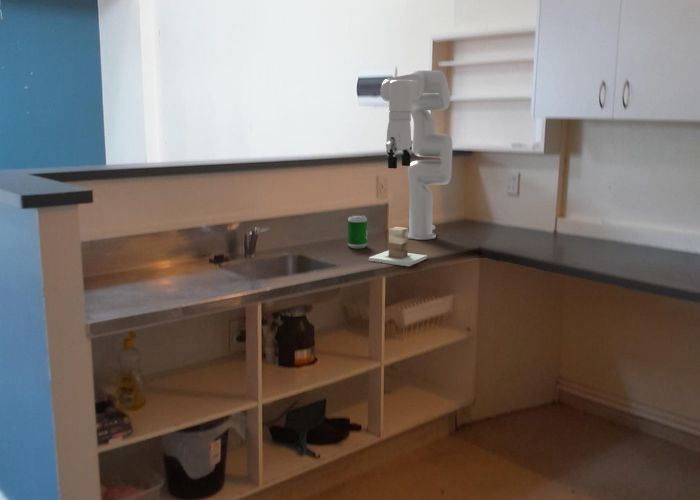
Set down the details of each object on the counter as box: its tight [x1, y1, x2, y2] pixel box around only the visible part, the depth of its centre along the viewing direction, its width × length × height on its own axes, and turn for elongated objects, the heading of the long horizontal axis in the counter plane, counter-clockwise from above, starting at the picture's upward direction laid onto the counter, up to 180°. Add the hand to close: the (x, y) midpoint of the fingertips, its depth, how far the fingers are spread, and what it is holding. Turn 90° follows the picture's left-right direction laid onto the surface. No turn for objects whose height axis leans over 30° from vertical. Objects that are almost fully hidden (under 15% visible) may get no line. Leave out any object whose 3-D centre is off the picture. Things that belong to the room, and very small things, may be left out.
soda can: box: [347, 214, 368, 249], centre depth 275 cm, size 8×8×12 cm
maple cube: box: [388, 226, 409, 244], centre depth 252 cm, size 5×5×5 cm
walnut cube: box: [388, 241, 409, 258], centre depth 253 cm, size 5×5×5 cm
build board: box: [368, 249, 428, 267], centre depth 254 cm, size 14×16×1 cm
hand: (399, 167), depth 247 cm, fingers open, 9 cm apart
